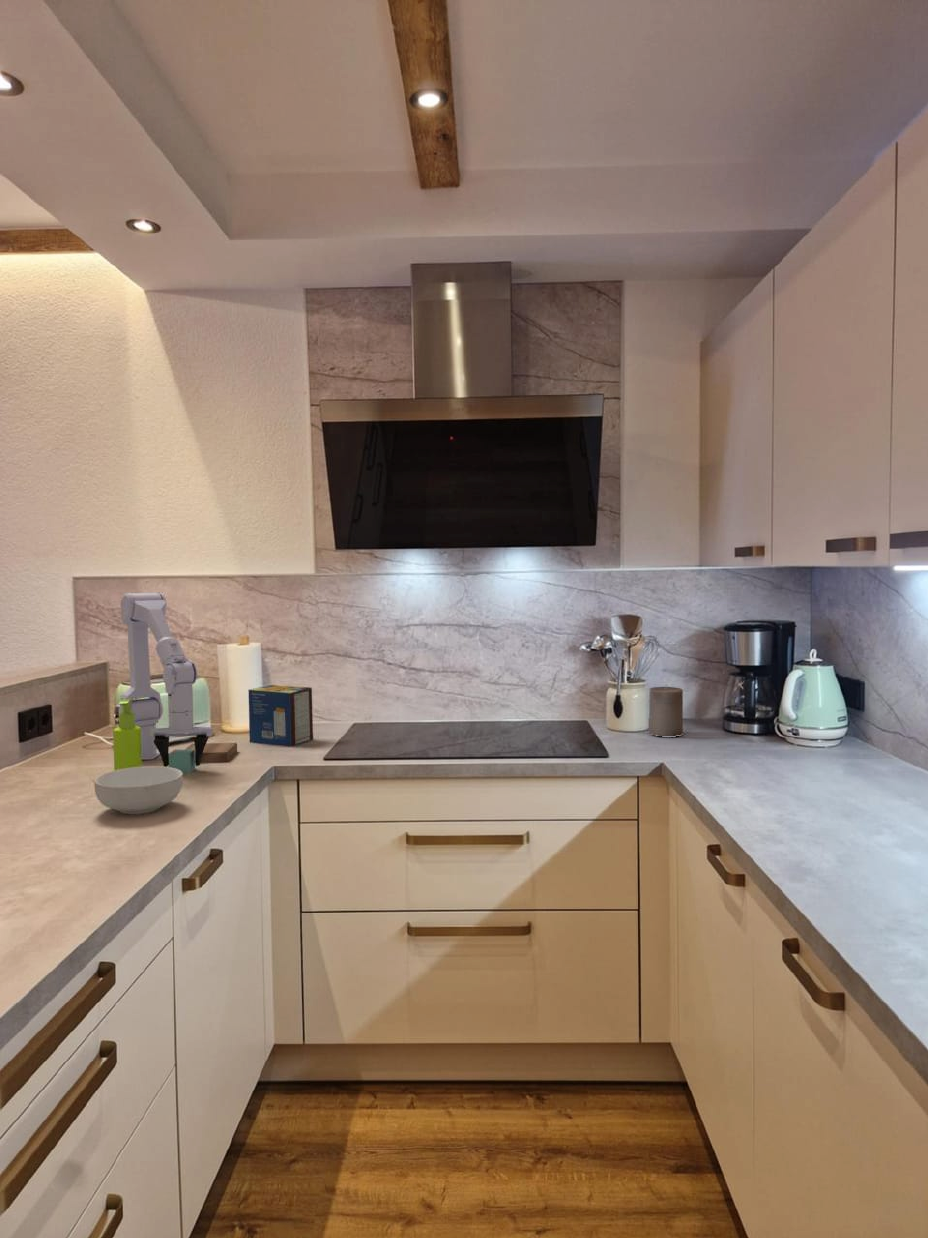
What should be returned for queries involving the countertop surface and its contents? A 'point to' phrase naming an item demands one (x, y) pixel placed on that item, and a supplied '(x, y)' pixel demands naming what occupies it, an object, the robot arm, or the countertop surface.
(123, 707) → the soap dispenser
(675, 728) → the pillar candle
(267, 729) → the protein box
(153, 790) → the cereal bowl
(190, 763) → the teal cube
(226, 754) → the walnut base
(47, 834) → the countertop surface
